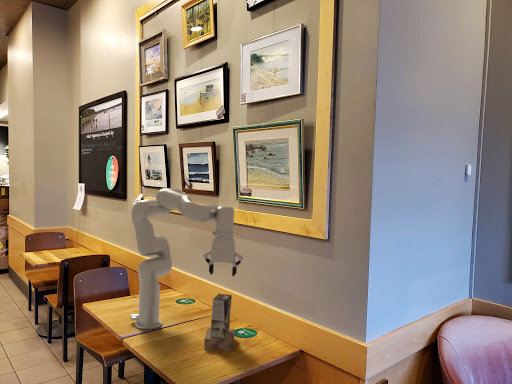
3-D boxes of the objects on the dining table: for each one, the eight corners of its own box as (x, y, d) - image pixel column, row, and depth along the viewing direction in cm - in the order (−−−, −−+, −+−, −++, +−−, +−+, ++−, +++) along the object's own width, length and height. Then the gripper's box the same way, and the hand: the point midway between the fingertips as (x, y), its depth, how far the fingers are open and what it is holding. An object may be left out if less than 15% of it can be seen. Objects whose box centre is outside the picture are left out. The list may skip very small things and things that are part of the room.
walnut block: (204, 350, 161) (204, 339, 161) (207, 339, 173) (207, 328, 173) (232, 351, 162) (233, 340, 161) (234, 340, 174) (234, 329, 173)
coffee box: (224, 339, 162) (227, 301, 162) (209, 336, 163) (212, 299, 163) (229, 330, 171) (232, 294, 170) (215, 328, 172) (218, 292, 172)
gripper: (202, 235, 164) (200, 275, 164) (242, 237, 161) (240, 278, 162) (206, 232, 171) (205, 271, 171) (245, 235, 169) (243, 274, 169)
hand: (222, 274), depth 167 cm, fingers open, 9 cm apart
